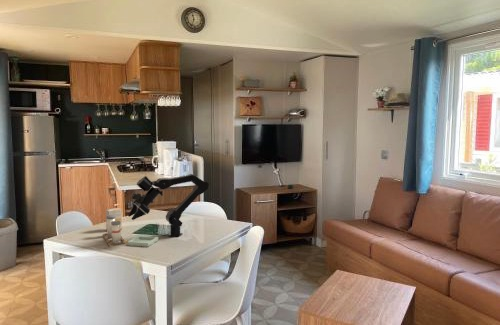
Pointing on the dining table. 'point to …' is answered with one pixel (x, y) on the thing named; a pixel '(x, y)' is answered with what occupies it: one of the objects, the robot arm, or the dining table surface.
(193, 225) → the dining table surface
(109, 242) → the wooden fuse rack
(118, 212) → the supplement box
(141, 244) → the tray
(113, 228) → the ball
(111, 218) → the cylinder
